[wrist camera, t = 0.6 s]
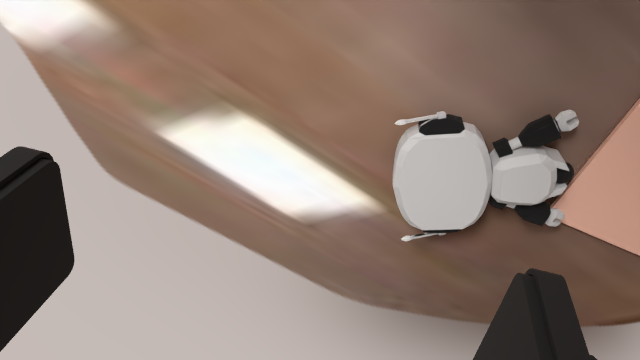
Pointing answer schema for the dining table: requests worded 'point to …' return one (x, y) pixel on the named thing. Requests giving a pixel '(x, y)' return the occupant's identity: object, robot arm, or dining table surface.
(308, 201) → the dining table surface
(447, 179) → the robot toy
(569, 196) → the terracotta mat
